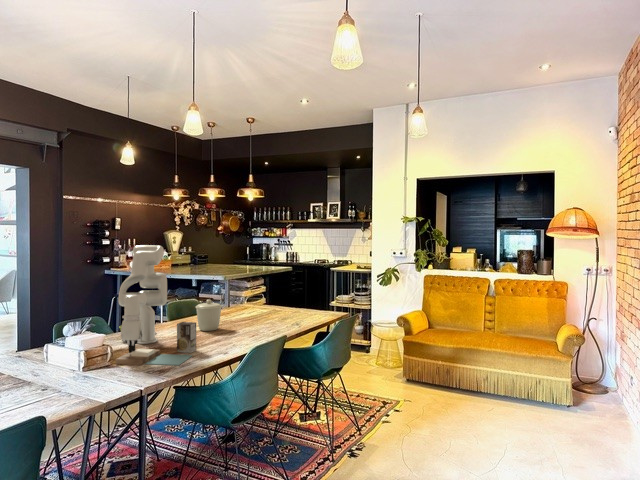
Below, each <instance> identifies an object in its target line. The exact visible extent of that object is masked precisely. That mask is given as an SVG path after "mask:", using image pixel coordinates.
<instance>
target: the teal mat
mask: <svg viewBox="0 0 640 480" xmlns="http://www.w3.org/2000/svg"><path fill="white" fill-rule="evenodd" d="M192 357H193V354H173V353H172V354H170V353H167V354H166V353H160V355H158V356H156V357H154V358H153V359H151V360H149V361H148V362H146V363H144V365H148V366H149V365H150V366H151V365H154V366H155V365H156V366H173V367H174V366H177V367H179V366H180V365H182V364H184V363H185V362H186V361H188V360H189V359H190V358H192Z"/></svg>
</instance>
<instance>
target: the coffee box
mask: <svg viewBox="0 0 640 480" xmlns="http://www.w3.org/2000/svg"><path fill="white" fill-rule="evenodd" d="M196 351H197V322H196V321H195V322H193V321H181V322H179V323H176V352H177V353H187V354H189V353H190V354H192V353H194V352H196Z"/></svg>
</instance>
